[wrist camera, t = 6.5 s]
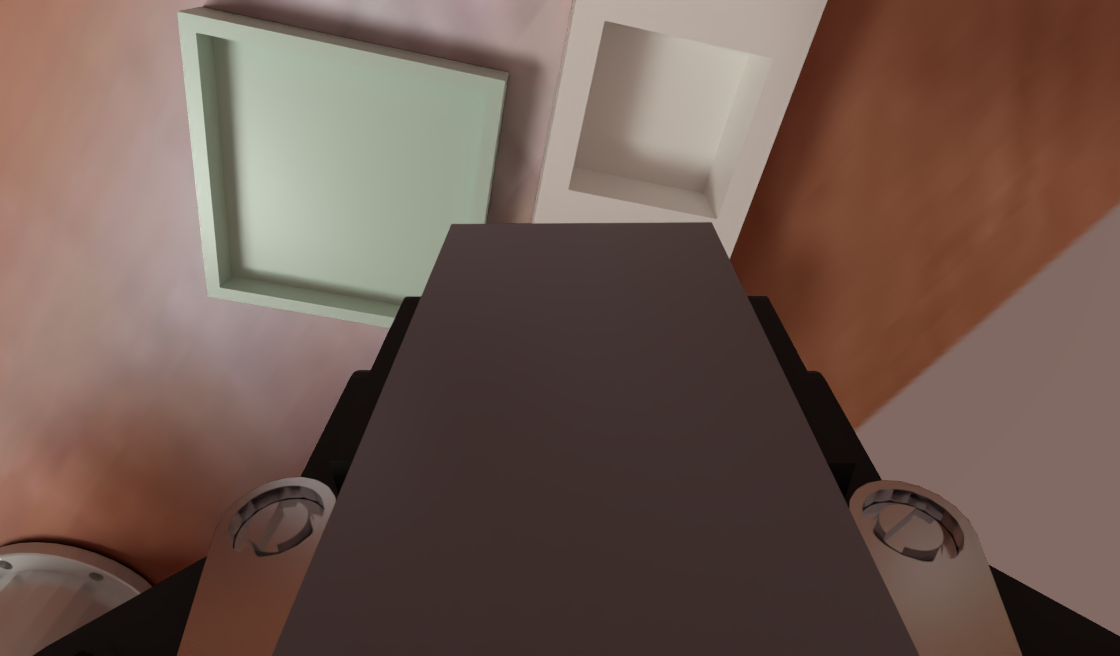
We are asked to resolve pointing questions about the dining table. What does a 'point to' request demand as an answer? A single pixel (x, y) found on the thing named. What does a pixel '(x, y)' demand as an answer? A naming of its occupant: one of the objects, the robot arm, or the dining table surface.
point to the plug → (589, 470)
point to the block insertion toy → (670, 109)
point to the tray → (330, 163)
